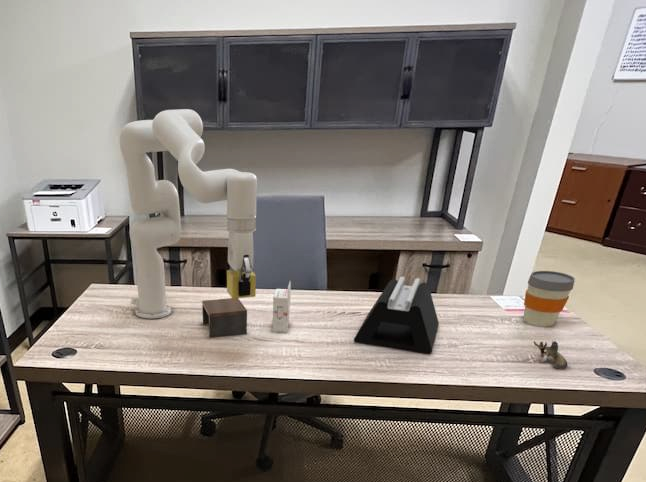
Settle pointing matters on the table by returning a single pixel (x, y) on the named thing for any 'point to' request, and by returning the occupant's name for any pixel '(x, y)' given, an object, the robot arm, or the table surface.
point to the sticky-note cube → (233, 284)
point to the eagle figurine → (552, 354)
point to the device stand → (401, 318)
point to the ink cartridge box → (281, 309)
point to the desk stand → (224, 317)
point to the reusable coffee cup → (546, 297)
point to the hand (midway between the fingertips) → (240, 290)
